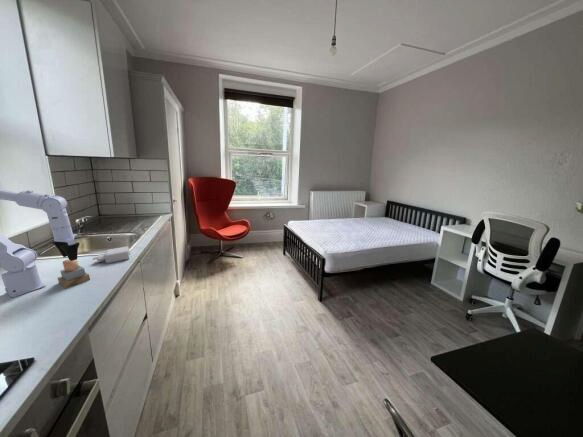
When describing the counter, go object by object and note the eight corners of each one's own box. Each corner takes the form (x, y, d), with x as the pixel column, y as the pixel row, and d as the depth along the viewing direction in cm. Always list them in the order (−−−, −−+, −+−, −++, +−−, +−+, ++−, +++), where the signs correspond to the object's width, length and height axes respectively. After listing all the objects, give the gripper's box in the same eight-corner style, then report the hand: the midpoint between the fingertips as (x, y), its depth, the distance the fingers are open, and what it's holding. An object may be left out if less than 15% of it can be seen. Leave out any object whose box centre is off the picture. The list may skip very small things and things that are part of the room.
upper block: (67, 280, 97) (65, 274, 97) (62, 277, 100) (60, 270, 100) (85, 274, 102) (84, 268, 101) (79, 271, 105) (78, 265, 105)
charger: (95, 260, 123) (129, 253, 130) (92, 267, 115) (129, 259, 123) (92, 251, 122) (128, 245, 129) (89, 257, 114) (127, 251, 122)
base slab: (66, 289, 97) (64, 282, 96) (59, 284, 101) (57, 277, 100) (90, 280, 103) (88, 274, 102) (83, 276, 107) (81, 270, 106)
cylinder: (67, 272, 97) (64, 263, 96) (63, 270, 100) (60, 261, 99) (80, 268, 101) (78, 259, 100) (76, 266, 103) (74, 257, 102)
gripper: (80, 226, 95) (89, 258, 99) (67, 221, 103) (75, 251, 107) (57, 231, 90) (67, 264, 93) (44, 226, 97) (54, 257, 101)
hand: (70, 258), depth 100 cm, fingers open, 7 cm apart
